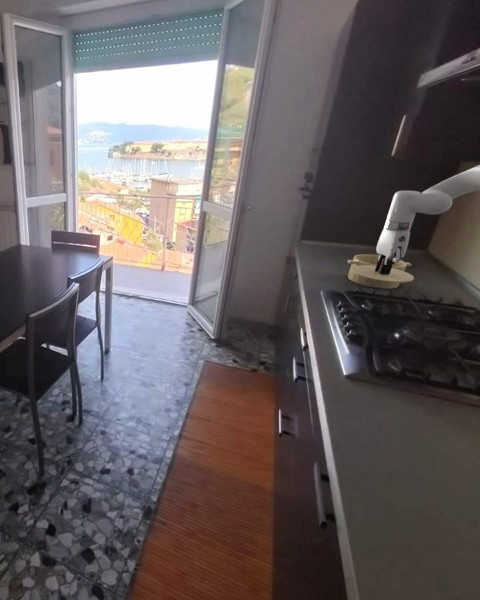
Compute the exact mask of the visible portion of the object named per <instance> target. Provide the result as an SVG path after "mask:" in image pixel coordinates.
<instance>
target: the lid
mask: <svg viewBox="0 0 480 600" xmlns="http://www.w3.org/2000/svg"><path fill="white" fill-rule="evenodd" d="M389 260H390V259H389ZM384 262H385V258H384V259H382V261H381V265H380V268H379V271H378V272H376V271H375V268H376V266H372V265H361V266H355V267H353V268H352V272H353V273H355V274H357V275H359V276H362V277H365V278H368V279H372V280H377V281H383V282H394V283H400V284H403V283H411V282H413V281H414V279H415V277H414V275H412V274H411V273H409V272H408V271H407V272H406V271H401V270H397V269H393V268H391V271H390V274H380V270H381V267H382V264H384Z"/></svg>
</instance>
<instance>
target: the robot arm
mask: <svg viewBox="0 0 480 600" xmlns="http://www.w3.org/2000/svg"><path fill="white" fill-rule="evenodd" d="M476 191H477V192H478V191H480V164H479V165H476V166H474V167H472V168H469V169H467V170H465V171H462V172H460V173H458V174H455V175H453V176H451V177H448V178H447V179H445V180H442V181H440V182H439V183H437V184H434V185H432V186H430V187H429V188H427V189H425V190H424V191H422V192H420V191H416V190H398V191H396V192H395V193H394V195H393V196H392V200H391V204H390V207H389V210H388V213H387V215H386V219H385V223H384V226H383V229H382V231H381V234H380V236H379V238H378V241H377V243H376V249H375V250H376V255H378V259H377V261H378V262H377V265H376V268H375V271H376V272H378V271H379V268H380V265H381V261H382V259H384V258H385V262H384V264H382V267H381V270H380V274H390V271H391V268H392V266H393V265H394V263H395V262H399V261H400V260H401V259H403V258H405V255H406V252H407V250H408V246H409V241H410V236H411V229H412V226H413V223H414V221H415V217H416V214H417V213H418V214H424V215H430V216H436V215H441V214H443V213H445V212H447V211H449V210H450V208H451V207H452V205H453V200H454V199H456V198H460V197H461V196H463V195H466V194H470V193H473V192H476ZM389 258H392V259H390V260H389Z"/></svg>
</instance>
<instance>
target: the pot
mask: <svg viewBox="0 0 480 600" xmlns="http://www.w3.org/2000/svg"><path fill="white" fill-rule="evenodd" d="M377 259H378V254H370V253H369V254H355V255H354V256H353V259H347V263H348V264H349V265H350V268H349V272H348V274H347V278H348V280H349V281H351V282H352V283H353V282H354V283H355V284H358V285H361V286H365V287H370V288H376V289H386V290H387V289H397V288H398V287H399V286H400V284H401V283H394V282H383V281H377V280H372V279H368V278H365V277H362V276H359V275H357V274H355V273H353V272H352V268H353V267H355V266H361V265H372V266H376V265H377V262H378V261H377ZM389 259H392V258H389ZM412 265H413V264H412V263H410V262H408V261H407V262H405V261H403V260H402V259H400V261H399V262H395V263H394V265H393V266H392V268H393V269H397V270H401V271H404V272H406V269H407V267H412Z"/></svg>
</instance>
